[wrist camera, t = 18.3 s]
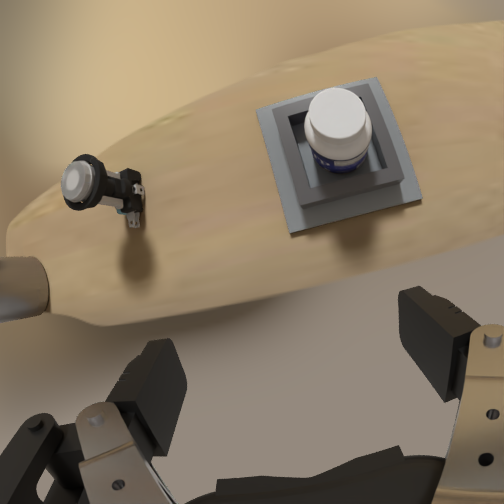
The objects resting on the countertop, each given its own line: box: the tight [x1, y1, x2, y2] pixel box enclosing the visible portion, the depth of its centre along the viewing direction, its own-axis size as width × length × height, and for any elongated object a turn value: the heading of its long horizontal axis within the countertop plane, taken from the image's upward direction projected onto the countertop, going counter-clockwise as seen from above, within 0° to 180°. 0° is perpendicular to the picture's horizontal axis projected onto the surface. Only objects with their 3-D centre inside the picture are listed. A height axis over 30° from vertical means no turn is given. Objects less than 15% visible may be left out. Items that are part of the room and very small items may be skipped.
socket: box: [256, 77, 422, 233], centre depth 27 cm, size 13×13×3 cm
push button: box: [61, 154, 144, 228], centre depth 30 cm, size 7×5×10 cm
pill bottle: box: [304, 88, 372, 175], centre depth 24 cm, size 5×5×9 cm
